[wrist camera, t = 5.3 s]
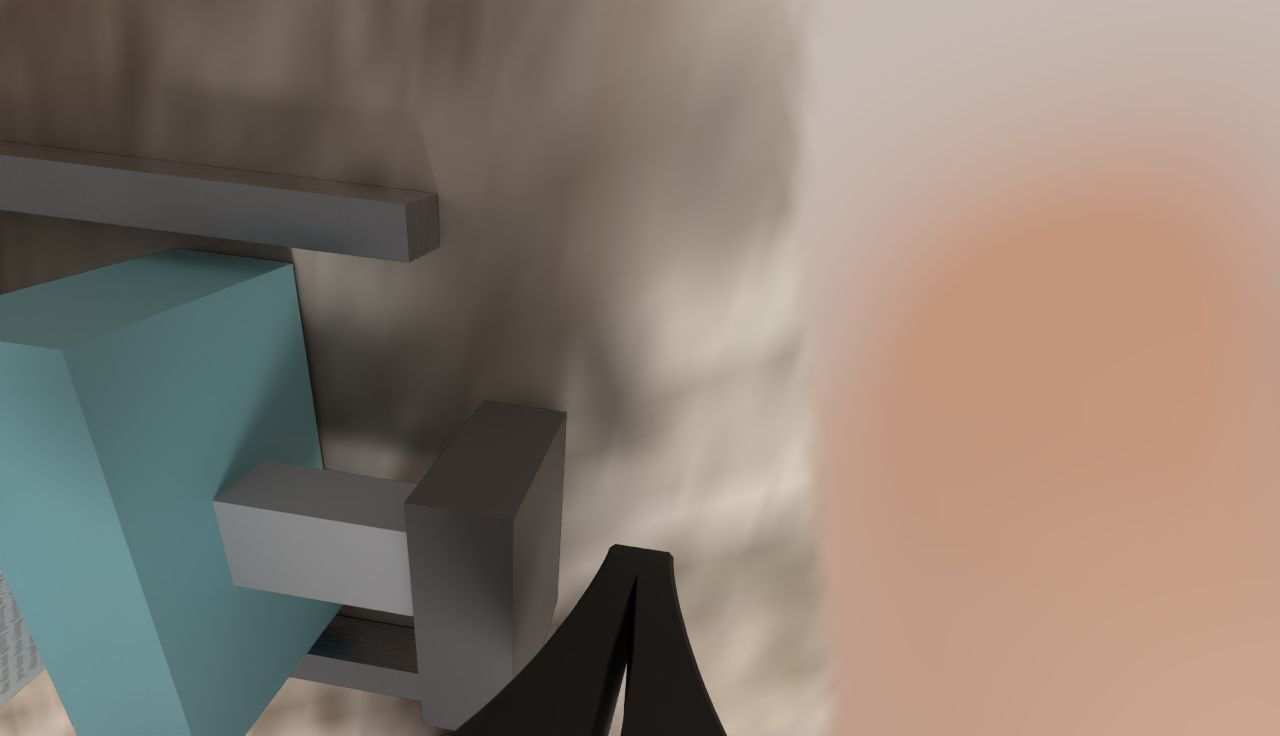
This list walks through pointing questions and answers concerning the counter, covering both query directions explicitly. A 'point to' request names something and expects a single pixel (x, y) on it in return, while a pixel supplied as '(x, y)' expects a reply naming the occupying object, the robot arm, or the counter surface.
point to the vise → (261, 216)
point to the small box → (15, 647)
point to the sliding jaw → (242, 507)
